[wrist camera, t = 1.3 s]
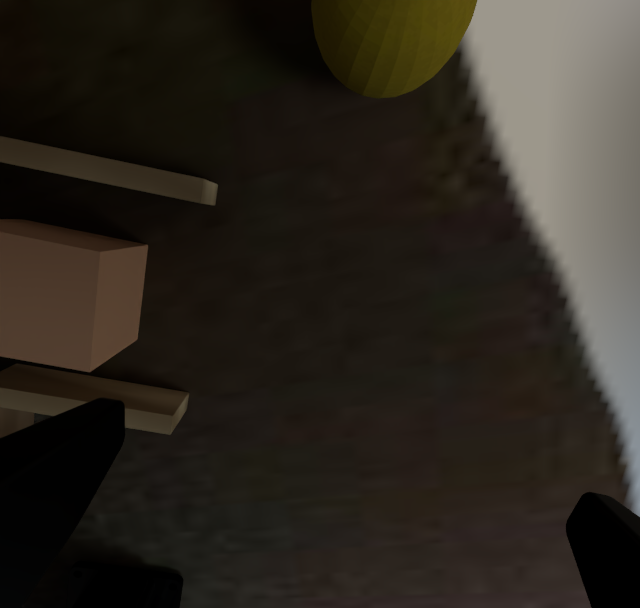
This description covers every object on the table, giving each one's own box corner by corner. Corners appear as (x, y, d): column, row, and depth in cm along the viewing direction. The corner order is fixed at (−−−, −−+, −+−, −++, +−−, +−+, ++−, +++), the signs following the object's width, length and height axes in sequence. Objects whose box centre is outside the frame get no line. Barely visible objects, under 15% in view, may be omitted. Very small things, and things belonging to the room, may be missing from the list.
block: (138, 338, 20) (89, 372, 15) (20, 316, 19) (-65, 344, 15) (149, 244, 19) (100, 251, 14) (24, 219, 18) (-66, 218, 14)
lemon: (305, 112, 17) (302, 25, 10) (317, -25, 16) (326, -251, 8) (421, 127, 18) (510, 53, 10) (441, -7, 17) (560, -209, 9)
